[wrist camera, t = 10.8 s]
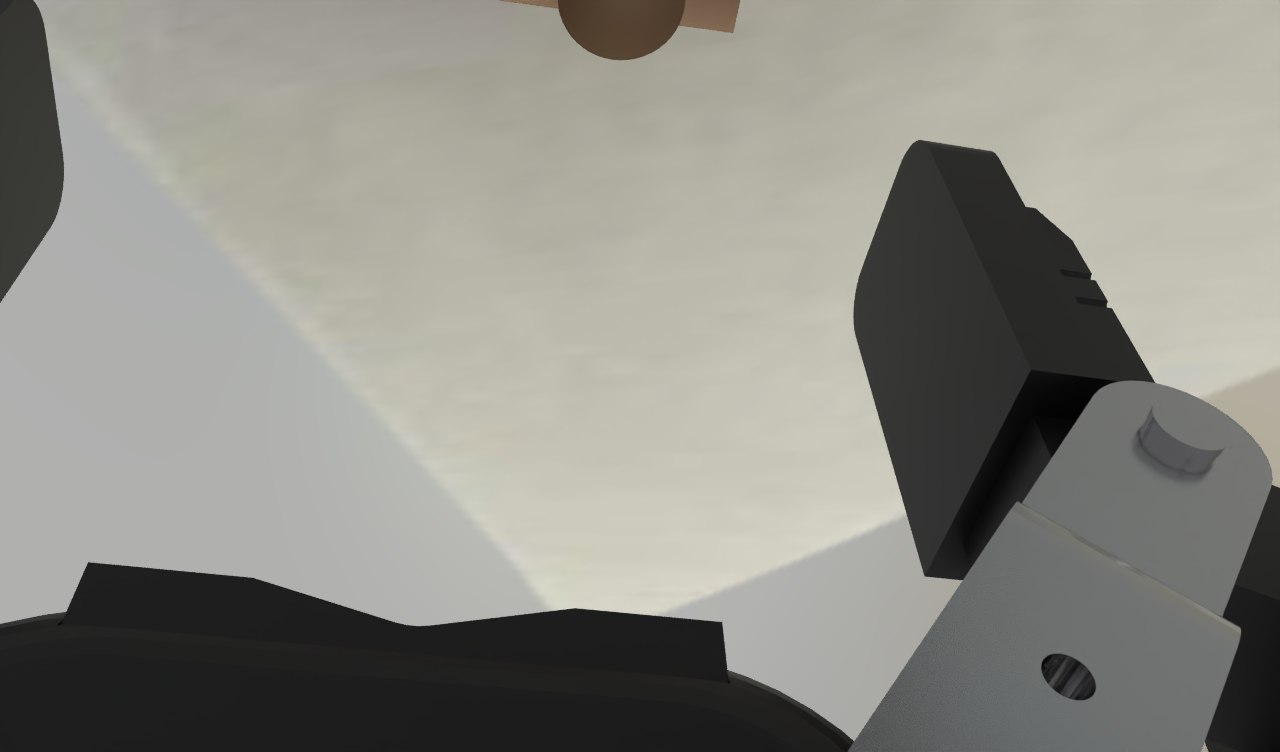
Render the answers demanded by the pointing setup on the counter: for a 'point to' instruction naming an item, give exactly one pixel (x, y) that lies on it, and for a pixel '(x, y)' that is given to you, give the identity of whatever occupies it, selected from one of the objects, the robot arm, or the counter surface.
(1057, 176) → the counter surface
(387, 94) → the counter surface
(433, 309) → the counter surface
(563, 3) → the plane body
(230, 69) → the counter surface
